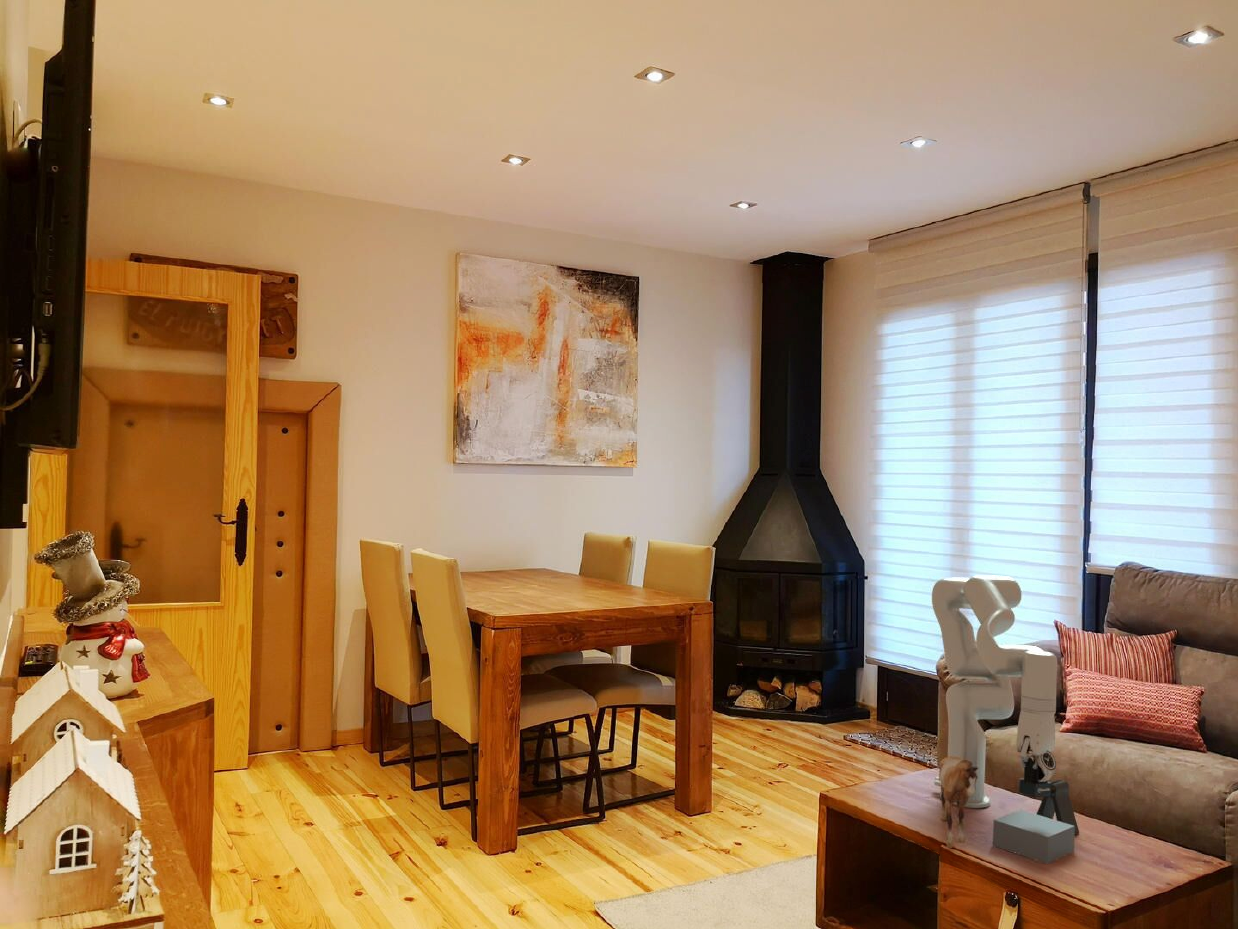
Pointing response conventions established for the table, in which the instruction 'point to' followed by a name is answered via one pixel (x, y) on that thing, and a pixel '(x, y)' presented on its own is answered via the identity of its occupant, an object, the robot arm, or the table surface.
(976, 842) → the table surface
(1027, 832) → the base block
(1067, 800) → the phone stand
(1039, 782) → the watch
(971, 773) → the horse figurine
